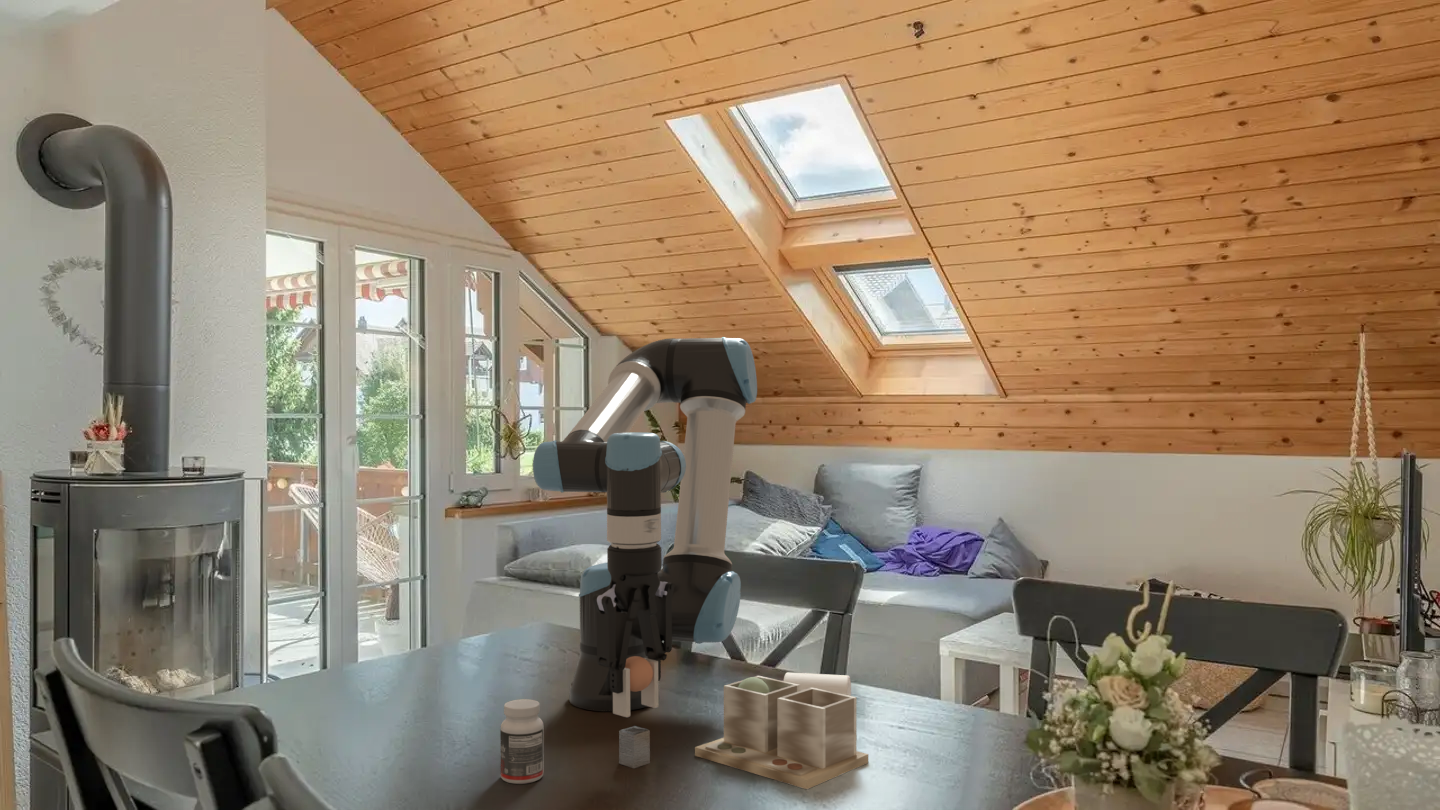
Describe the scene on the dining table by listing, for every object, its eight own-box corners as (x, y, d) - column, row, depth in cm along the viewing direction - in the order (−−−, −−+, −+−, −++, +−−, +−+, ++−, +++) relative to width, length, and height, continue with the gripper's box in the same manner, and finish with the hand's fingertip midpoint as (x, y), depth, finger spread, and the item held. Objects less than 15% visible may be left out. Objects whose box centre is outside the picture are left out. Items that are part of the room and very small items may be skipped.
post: (619, 763, 152) (619, 730, 152) (634, 758, 154) (634, 725, 154) (634, 768, 150) (634, 734, 150) (649, 763, 152) (649, 730, 152)
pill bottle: (503, 771, 149) (503, 698, 149) (545, 769, 149) (545, 697, 149) (498, 785, 143) (498, 710, 143) (541, 784, 143) (541, 709, 143)
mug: (846, 735, 165) (846, 682, 165) (781, 731, 167) (781, 679, 167) (853, 713, 176) (853, 664, 176) (791, 709, 178) (791, 661, 178)
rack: (694, 755, 155) (694, 691, 155) (758, 733, 165) (758, 672, 165) (806, 789, 142) (806, 718, 142) (868, 762, 152) (868, 696, 152)
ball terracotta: (611, 691, 152) (611, 657, 152) (636, 683, 156) (636, 650, 155) (635, 698, 149) (634, 663, 149) (660, 690, 152) (659, 656, 152)
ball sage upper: (740, 720, 158) (724, 691, 158) (758, 701, 162) (742, 673, 161) (763, 715, 155) (747, 686, 154) (781, 696, 158) (765, 668, 158)
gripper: (604, 555, 142) (606, 731, 143) (697, 538, 156) (699, 700, 156) (567, 549, 148) (569, 719, 148) (660, 533, 161) (662, 690, 161)
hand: (635, 709), depth 152 cm, fingers closed on ball terracotta, 5 cm apart
